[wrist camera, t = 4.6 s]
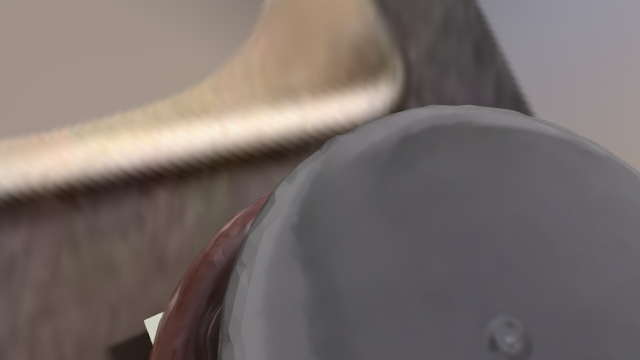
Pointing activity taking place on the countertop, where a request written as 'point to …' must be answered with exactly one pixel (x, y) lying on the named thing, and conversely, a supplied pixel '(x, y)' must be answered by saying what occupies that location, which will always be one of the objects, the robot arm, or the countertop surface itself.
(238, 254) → the supplement bottle
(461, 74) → the countertop surface
